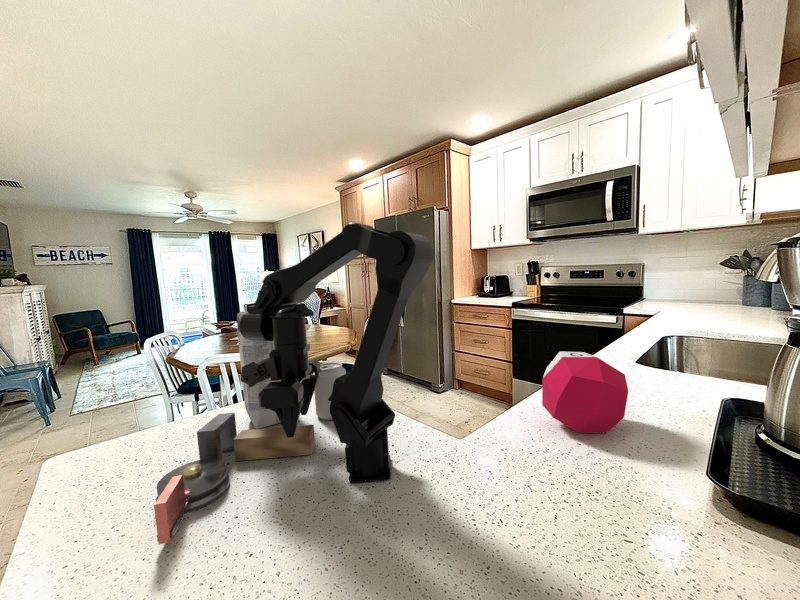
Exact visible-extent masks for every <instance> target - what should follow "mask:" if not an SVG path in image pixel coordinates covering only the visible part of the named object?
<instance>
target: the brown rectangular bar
mask: <svg viewBox="0 0 800 600" xmlns="http://www.w3.org/2000/svg"><path fill="white" fill-rule="evenodd" d="M315 437H316V436H315V426H314V424H306V425H303V424H302V425H297V427H296V431H295V434H294V437H290V438H288V437H287V436H286V434H285V431H284V429H283V427H282V426H280V427H279V426H277V427H269V428H268V427H265V428H261V429H256V428H255V429H254V428H253V429H244V430H241V431H240V432H238V433H237V436H236V437H235V438H234V439H233V442H234V451H233V452H234V461H235V462H240V461H249V460H250V461H253V460H260V459H262V460H264V459H274V458H287V457H299V456H309V455H312V453H313V451H314V449H315V447H316V438H315Z"/></svg>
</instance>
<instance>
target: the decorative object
mask: <svg viewBox="0 0 800 600" xmlns="http://www.w3.org/2000/svg"><path fill="white" fill-rule="evenodd" d="M541 381H542V383H541V384H542V389H541V391H542V393H541V394H542V395H541V396H542V397H541V398H542V400H541V403H542V404H541V405H542V407H544V409H545V410H546V411H547V412H548V413H549V415H551V417H552V418H553V419H555V420H556V421H557V422H560V423H562V424H563V425H565V426H567V427H568V428H570V429H572V430H574V431H576V432H578V433H583V434H584V433H585V434H586V433H587V434H602V435H604V434H605V435H606V434H607V433H608V432H610V430H612V429H613V428H614V427H615V426H616V425H618V424H619V423H620V422H621V421H622V420H623V419H624V418H625V414H626V409H627V408H626V407H627V403H628V396H629V389H628V383H627V379H626V375H625V373H624V372H621V371H620V370H618V369H616V368H615V367H614V366H612V365H611V364H609V363H608V362H606V361H604V360H602V359H601V358H599V357H598V356H595V355H592V354H590V353H587V352H585V351H584V352H583V351H559V352H558V353H557V354H556V356H555V357H554V358H553V360H552V361H551V362H550V363H549V364H548V365H547V367H546V368H545V372H544V374H543V376H542V380H541Z"/></svg>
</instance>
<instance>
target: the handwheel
mask: <svg viewBox="0 0 800 600" xmlns="http://www.w3.org/2000/svg"><path fill="white" fill-rule="evenodd" d="M227 472H228V471H227V464H226V462H225V460H224V459H223V460H221V459H215V458H210V459H202V460H200V459H198V460H195V461H191V462H187V463H186V464H183V465H181V466H179V467H176V468H174V469H173V470H171V471H169V472H168V473H166V474H164V475H163V476H162V477H161V478H160V479H159V481H158V482H157V485H156V493H157V496H158V500H157V501H156V500H155V502H154V504H153V508H154V517H155V525H156V533H157V535H156V539H157V542H158V545H163V544H167V543H171V541H172V539H174V537H175V535H176V532H177V531H178V529H179V527H180V525H181V524H182V521H183V519H184V517H185V515H186V514H187V513H186V511H187V509H188V507H189V505H190V503H191V502H194V501H197V500H200V499H202V498H204V497H206V496H208V495H210V494H211V493H213V492H214V491H216V490H217V489H218V488H220V487H221V486H222V485H223V484H224V482H225V481H226V479H227ZM185 513H186V514H185Z"/></svg>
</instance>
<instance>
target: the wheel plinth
mask: <svg viewBox="0 0 800 600" xmlns="http://www.w3.org/2000/svg"><path fill="white" fill-rule="evenodd" d="M230 484H231V480H230V475H229V472H228V471H227V479H226V481H225V482H224V484H223V485H222V486H221V487H220V488H218V489H217V490H216V491H214V492H213V493H211V494H210V495H208V496H206V497H204V498H202V499H200V500H197V501H194V502H191V503H190V505H189V507H188V509H187V511H186V513H185V515H186V514H189V513H193V512H195V511H198V510H200V509H203V508H205V507H207V506H209V505H211V504H212V503H214V502H215V501H217V500H218V499H220V498H221V497H222V496H223V495H224V494H225V493H226V492H227V490H228V489H229V488H230ZM157 500H158V495H157V496H156V498H155V502H156V501H157Z"/></svg>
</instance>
